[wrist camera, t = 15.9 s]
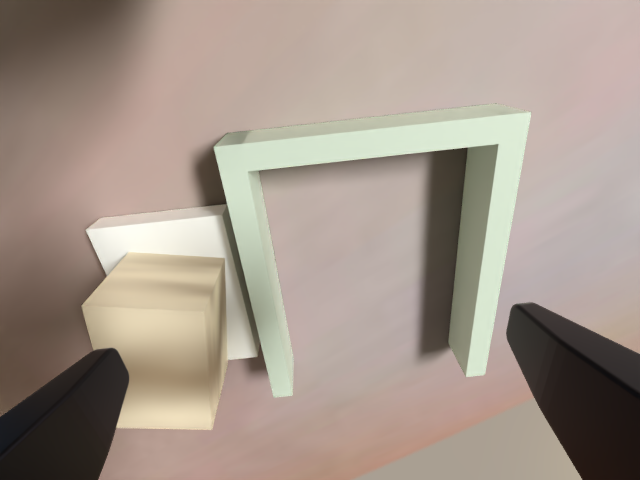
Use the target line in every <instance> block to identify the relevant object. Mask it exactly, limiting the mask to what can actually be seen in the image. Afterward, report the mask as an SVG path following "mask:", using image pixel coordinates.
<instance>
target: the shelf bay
mask: <svg viewBox="0 0 640 480" xmlns="http://www.w3.org/2000/svg"><path fill="white" fill-rule="evenodd" d="M530 117H531V112H530V111H525V110H521V109H517V108H513V107H509V106H505V105H501V104H497V103H495V104H486V105H477V106H468V107H459V108H450V109H441V110H432V111H423V112H414V113H405V114H395V115H386V116H377V117H368V118H359V119H350V120H341V121H332V122H323V123H314V124H305V125H296V126H287V127H278V128H269V129H260V130H251V131H242V132H233V133H227V134H226V135H225V136H224V137H223V138H222V139H221V140H220V141H219V142H218V143H217V144H216V145H215V146H214V151H215V155H216V159H217V163H218V167H219V172H220V176H221V180H222V184H223V188H224V192H225V197H226V201H227V205H228V209H229V213H230V217H231V222H232V226H233V230H234V234H235V238H236V242H237V247H238V251H239V255H240V259H241V263H242V267H243V272H244V276H245V280H246V284H247V288H248V292H249V297H250V301H251V305H252V309H253V313H254V317H255V322H256V326H257V330H258V334H259V338H260V342H261V347H262V351H263V355H264V359H265V363H266V367H267V372H268V376H269V380H270V384H271V388H272V392H273V397H283V396H293V362H294V359H293V353H292V348H291V343H290V337H289V332H288V326H287V321H286V316H285V310H284V305H283V300H282V294H281V289H280V283H279V278H278V273H277V267H276V262H275V256H274V251H273V246H272V240H271V235H270V230H269V224H268V219H267V213H266V208H265V203H264V197H263V192H262V186H261V181H260V176H259V170H266V169H275V168H285V167H294V166H303V165H312V164H321V163H330V162H339V161H348V160H357V159H366V158H376V157H385V156H394V155H403V154H412V153H421V152H430V151H439V150H448V149H457V148H467V147H468V150H467V160H466V170H465V180H464V190H463V200H462V210H461V220H460V230H459V240H458V250H457V260H456V270H455V280H454V290H453V300H452V310H451V319H450V329H449V339H448V343H449V345H450V347H451V349H452V351H453V353H454V355H455V357H456V359H457V361H458V363H459V365H460V367H461V369H462V371H463V372H464V374H465V376H466V377H471V376H480V375H485V371H486V365H487V360H488V354H489V348H490V343H491V337H492V331H493V326H494V320H495V315H496V309H497V303H498V298H499V292H500V286H501V281H502V275H503V269H504V264H505V258H506V252H507V247H508V241H509V235H510V230H511V224H512V219H513V213H514V207H515V202H516V196H517V190H518V185H519V179H520V173H521V168H522V162H523V156H524V151H525V145H526V139H527V134H528V128H529V123H530Z"/></svg>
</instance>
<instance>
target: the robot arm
mask: <svg viewBox="0 0 640 480" xmlns="http://www.w3.org/2000/svg"><path fill="white" fill-rule="evenodd" d="M506 334H507V340H508V343H509V345H510V347H511V349H512V351H513V353H514V356H515V358H516V360H517V362H518V364H519V366H520V368H521V370H522V373H523V375H524V377H525V379H526V381H527V383H528V385H529V387H530V390H531V392H532V394H533V396H534V398H535V400H536V402H537V404H538V406H539V408H540V409H541V411H542V413H543V414H544V416H545V418H546V420H547V421H548V423H549V425H550V426H551V428H552V430H553V431H554V433H555V435H556V436H557V438H558V440H559V441H560V443H561V445H562V446H563V448H564V450H565V451H566V453H567V455H568V456H569V458H570V460H571V461H572V463H573V465H574V466H575V468H576V470H577V471H578V473H579V475H580V476H581V478H582V480H640V354H638V353H636V352H634V351H632V350H630V349H628V348H626V347H624V346H622V345H620V344H618V343H616V342H614V341H612V340H610V339H608V338H605V337H603V336H601V335H599V334H597V333H595V332H593V331H591V330H589V329H587V328H585V327H583V326H581V325H579V324H577V323H575V322H572V321H570V320H568V319H566V318H564V317H562V316H560V315H558V314H556V313H554V312H552V311H550V310H548V309H546V308H544V307H541V306H539V305H537V304H535V303H531V302H529V303H520V304H515V305H513V306H512V308H511V311H510V316H509V321H508V326H507V332H506ZM128 385H129V372H128V370H127V368H126V366H125V364H124V362H123V360H122V358H121V356H120V354H119V352H118V351H117V350H116V349H115V348H102V349H96V350H93V351H92V352H90V353H89V354H88V355H86V356H85V357H83V358H82V359H81V360H79V361H78V362H76V363H75V364H74V365H72V366H71V367H69V368H68V369H67V370H65V371H64V372H62V373H61V374H60V375H58V376H57V377H55V378H54V379H53V380H51V381H50V382H48V383H47V384H46V385H44V386H43V387H41V388H40V389H39V390H37V391H36V392H34V393H33V394H32V395H30V396H29V397H27V398H26V399H25V400H23V401H22V402H21V403H19V404H18V405H16V406H15V407H14V408H12V409H11V410H9V411H8V412H7V413H5V414H4V415H2V416H1V417H0V480H98V479H99V476H100V473H101V471H102V468H103V466H104V463H105V461H106V458H107V455H108V452H109V449H110V446H111V443H112V440H113V437H114V433H115V430H116V426H117V423H118V419H119V416H120V412H121V409H122V405H123V402H124V398H125V395H126V392H127V388H128Z"/></svg>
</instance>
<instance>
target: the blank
mask: <svg viewBox="0 0 640 480" xmlns="http://www.w3.org/2000/svg"><path fill="white" fill-rule="evenodd" d="M81 307H82V311H83V314H84V318H85V322H86V325H87V329H88V333H89V337H90V340H91V344H92V348H93V350H96V349H102V348H115V349H116V350H117V351H118V352H119V354H120V356H121V358H122V360H123V362H124V364H125V366H126V368H127V370H128V372H129V385H128V388H127V392H126V395H125V398H124V402H123V405H122V409H121V412H120V416H119V419H118V423H117V426H116V428H143V429H193V430H212V428H213V424H214V420H215V415H216V411H217V407H218V403H219V399H220V395H221V391H222V386H223V382H224V378H225V374H226V370H227V366H228V352H227V316H226V281H225V258H217V257H201V256H185V255H169V254H153V253H137V252H128V253H127V255H126V256H125V257H124V258H123V259H122V260H121V261H120V262H119V264H118V265H117V266H116V267H115V268H114V269H113V270H112V271H111V273H110V274H109V275H108V276H107V277H106V278H105V279H104V281H103V282H102V283H101V284H100V285H99V286H98V287H97V288H96V290H95V291H94V292H93V293H92V294H91V295H90V296H89V298H88V299H87V300H86V301H85V302H84V303H83V304H82V305H81Z"/></svg>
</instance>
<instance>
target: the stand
mask: <svg viewBox="0 0 640 480" xmlns="http://www.w3.org/2000/svg"><path fill="white" fill-rule="evenodd" d="M86 232H87V234H88V236H89V238H90V240H91V242H92V245H93V247H94V249H95V251H96V253H97V255H98V258H99V260H100V262H101V264H102V266H103V268H104V271H105V273H106V275H107V276H108V275H109V274H110V273H111V271H112V270H113V269H114V268H115V267H116V266H117V265H118V264H119V262H120V261H121V260H122V259H123V258H124V257H125V256H126V255H127V253H128V252H137V253H153V254H169V255H185V256H201V257H217V258H225V281H226V316H227V352H228V360H233V359H242V358H252V357H258V352H259V345H260V338H259V334H258V330H257V326H256V322H255V317H254V313H253V309H252V305H251V301H250V297H249V292H248V288H247V284H246V280H245V276H244V272H243V267H242V263H241V259H240V255H239V251H238V247H237V242H236V238H235V234H234V230H233V226H232V222H231V217H230V213H229V209H228V205H227V204H222V205H213V206H204V207H195V208H186V209H177V210H167V211H158V212H149V213H140V214H131V215H122V216H113V217H103V218H100V219H99V220H97V221H96V222H95V223H94V224H92V225H91V226H90V227H89V228H87V229H86Z"/></svg>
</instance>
